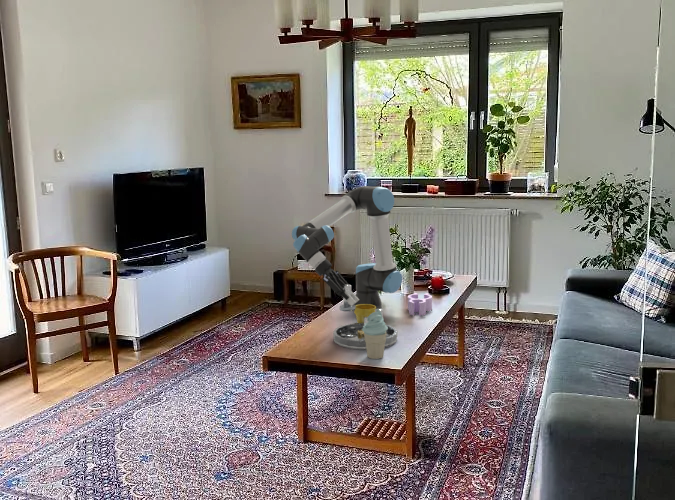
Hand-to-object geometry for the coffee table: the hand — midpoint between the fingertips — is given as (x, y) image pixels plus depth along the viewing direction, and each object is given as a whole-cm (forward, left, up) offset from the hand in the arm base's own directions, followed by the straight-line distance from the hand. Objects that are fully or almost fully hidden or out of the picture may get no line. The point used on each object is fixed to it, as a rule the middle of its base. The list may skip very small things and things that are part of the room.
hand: (355, 302), depth 296 cm
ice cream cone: (+20, +16, -17) cm, 31 cm away
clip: (-54, +14, -17) cm, 59 cm away
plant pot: (-19, -3, -17) cm, 25 cm away
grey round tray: (0, +4, -16) cm, 17 cm away
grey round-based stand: (0, -4, -3) cm, 5 cm away
